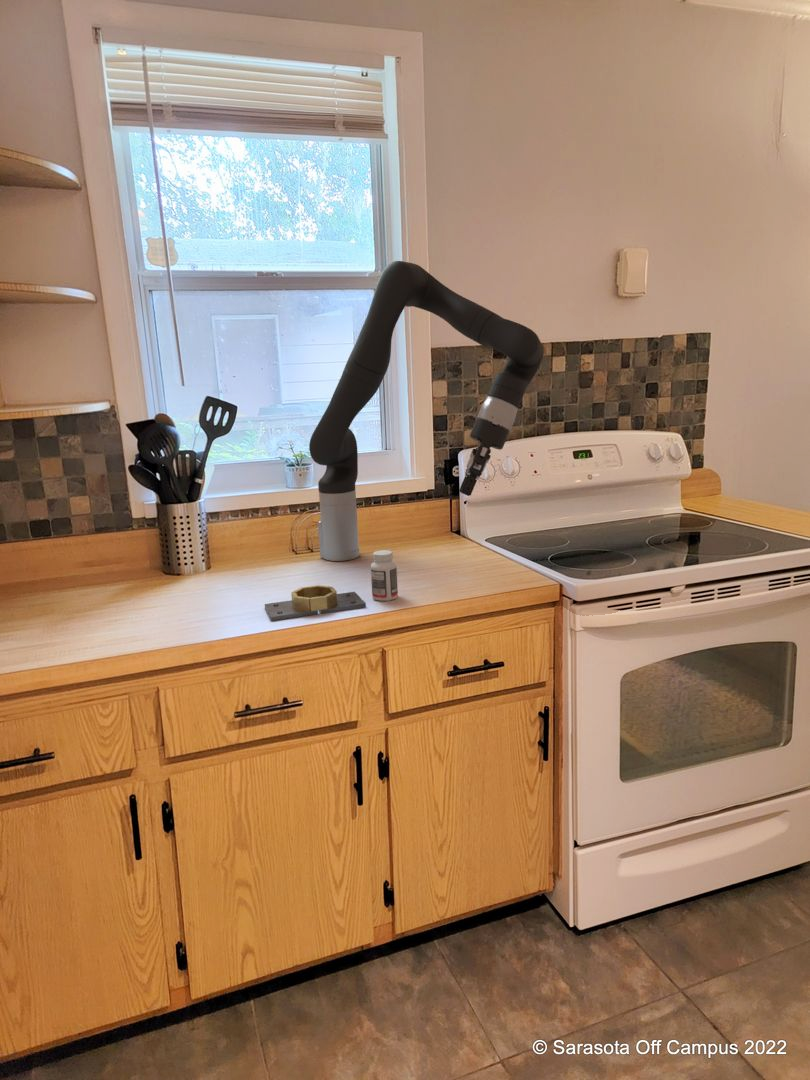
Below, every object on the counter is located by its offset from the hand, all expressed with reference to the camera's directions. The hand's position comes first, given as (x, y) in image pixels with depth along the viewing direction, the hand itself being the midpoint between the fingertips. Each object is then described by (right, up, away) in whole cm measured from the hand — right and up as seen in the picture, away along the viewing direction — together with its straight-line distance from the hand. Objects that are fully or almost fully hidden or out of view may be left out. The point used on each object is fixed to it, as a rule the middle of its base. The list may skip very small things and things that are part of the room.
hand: (464, 494), depth 154 cm
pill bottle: (-17, -22, -3) cm, 28 cm away
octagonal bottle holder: (-31, -23, -7) cm, 39 cm away
